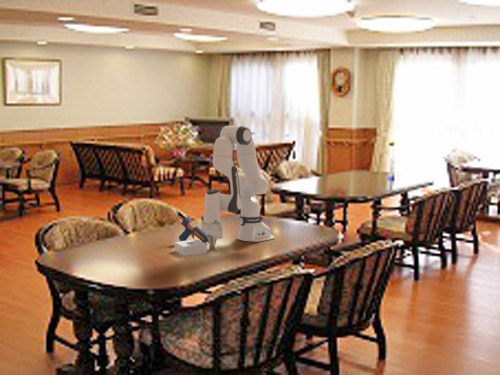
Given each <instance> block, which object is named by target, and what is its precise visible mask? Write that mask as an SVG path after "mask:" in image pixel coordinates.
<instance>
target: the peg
mask: <svg viewBox="0 0 500 375" xmlns="http://www.w3.org/2000/svg"><path fill="white" fill-rule="evenodd" d="M212 241H213V237H212V236H210V235H209V243H208V244H209V246H208V248H209V249H208V250H209V251H216V250H215V249H216V248H215V245H216V244H215V245H214V244H212Z"/></svg>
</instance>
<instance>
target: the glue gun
mask: <svg viewBox="0 0 500 375" xmlns="http://www.w3.org/2000/svg"><path fill="white" fill-rule="evenodd" d="M178 218H179V219H180V220H181V223H180V224H181V225H182V226H183V227H184V231H183V232H182V233H180V235H179V236H178V239H179V241H188V240H187V239H188V238H189V237H190V236H191V238H192V240H195V237H196V238H197V240H200V241H202V242H204V243H205V244H207V243H208V244H209V242H208V238H207V234H206V233H204V232H202V229H201V228H200V227H198V226H192V225H191V224H190V222H191V220H190V219H189V218H188V217H185V218H183V217H182V216H180V215H178Z"/></svg>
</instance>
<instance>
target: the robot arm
mask: <svg viewBox="0 0 500 375" xmlns="http://www.w3.org/2000/svg"><path fill="white" fill-rule="evenodd" d="M234 146H236V155H237V162H238V167H239V169H240V170H241V171H242V173H239V171H238V168H237V166H235V164H234V161H233V152H234V151H233V149H234V148H233V147H234ZM256 150H257V149H256V146H255V142H254V139H253V135H252V132H251V129H250V128H249V127H248V126H245V125H235V124H234V125H223V126H222V125H221V126H220V127H219V128H218V130H217V132H216V139H215V141H214V146H213V153H212V165H213V166H212V167H213V168H214V169H215V170H216V171H217V172H219V173H221V174H223V175H224V176H226V177H227V178H228V180H229V185H230V194H224V193H221V192H220V190H218V189H216V188H215V189H208V190H207V191H205V194H204V195H205V196H204V214H203V215H201V216H200V220H201V222H200V223H201V224H200V225H201V228H200V229H201V230H202V232H204V233H205V234H206V235H207V238H208V242H209V235H210V236H212V237H213V241H212V244H214V245H216V244H217V240H220V239H223V237H224V231H223V226H222V224H221V212H224V213H225V212H227V213H231V214H237V213H238V212H239V211H240V215H239V230H238V231H239V232H238V236H237V239H238V240H240V241H243V242H245V241H246V242H255V243H257V242H258V243H260V242H263V241H269V240H274V239H275V235H273V234H272V232H271V228H270V227H269V226H268V225H267V224H266V223H264V222H263V221H264V220H266V217H265V216H261V215H260V202H259V200H258V199H257V196H256V195H263V194H265V193H266V192H267V191H268V189H269V181H268V180H267V178H266V177H265V176H264V175H263V173H262V171H261V169H260V167H259V164H258V157H257V152H256ZM208 242H207V243H208Z"/></svg>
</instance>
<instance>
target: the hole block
mask: <svg viewBox="0 0 500 375" xmlns="http://www.w3.org/2000/svg"><path fill="white" fill-rule="evenodd" d="M174 252H176V253H178V254H179V255H181V256H183V257H185V256H194V255H202V253H204V254H208V244H207V243H204V242H202V241H201V240H200V239H191V240H189V239H188V240H186V241H180V240H179V241H174Z"/></svg>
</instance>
